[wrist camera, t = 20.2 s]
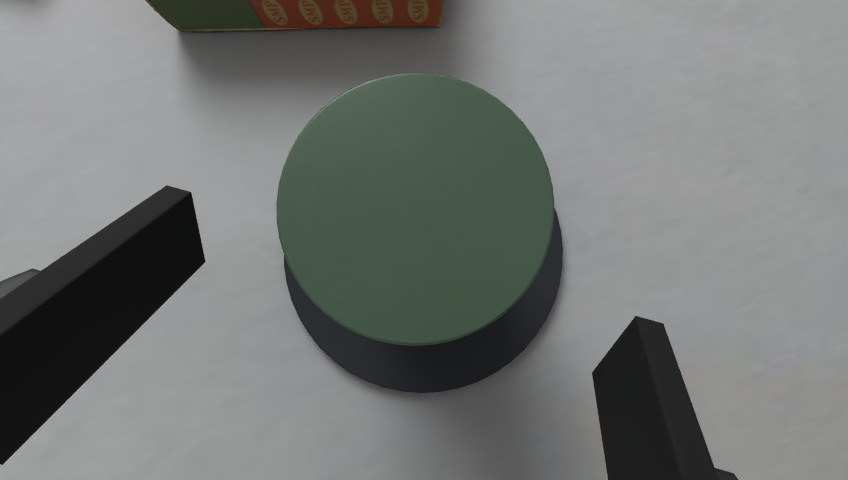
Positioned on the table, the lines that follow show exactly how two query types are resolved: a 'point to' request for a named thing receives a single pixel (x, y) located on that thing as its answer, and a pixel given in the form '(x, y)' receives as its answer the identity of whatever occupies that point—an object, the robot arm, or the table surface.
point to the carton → (296, 14)
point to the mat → (444, 360)
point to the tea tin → (415, 209)
